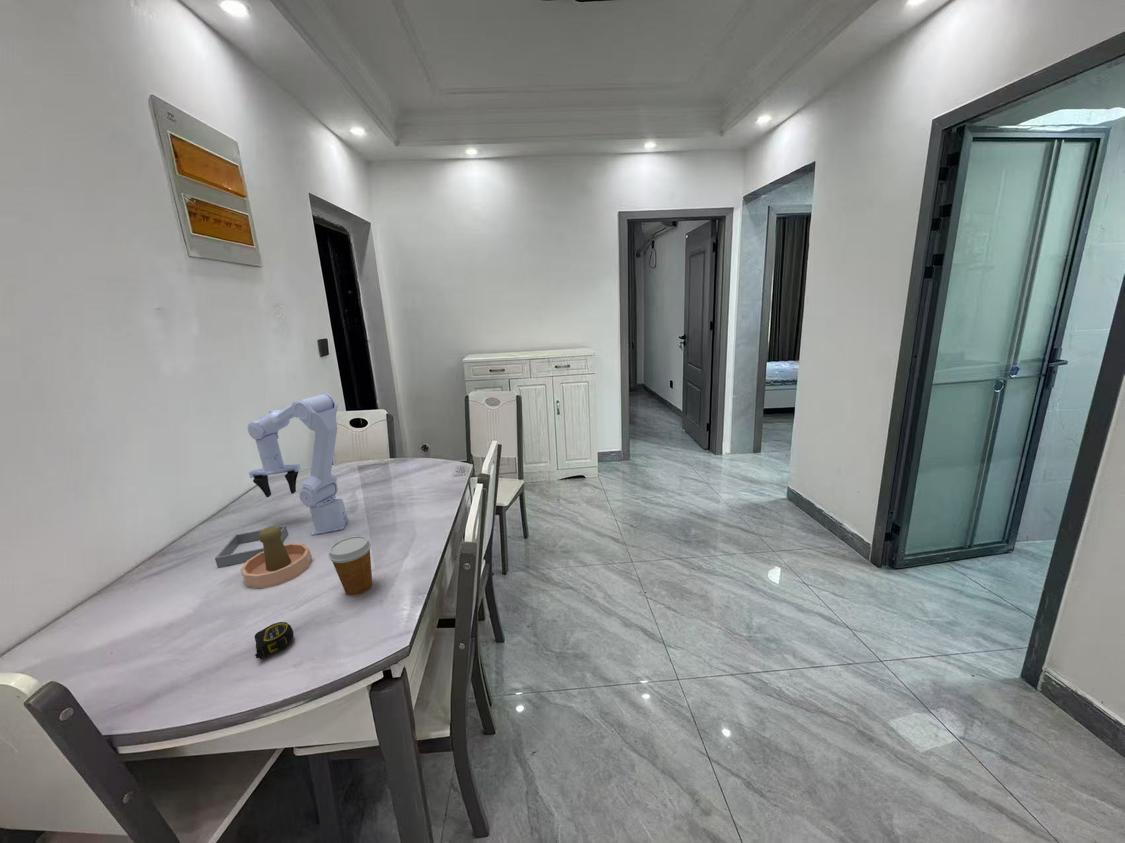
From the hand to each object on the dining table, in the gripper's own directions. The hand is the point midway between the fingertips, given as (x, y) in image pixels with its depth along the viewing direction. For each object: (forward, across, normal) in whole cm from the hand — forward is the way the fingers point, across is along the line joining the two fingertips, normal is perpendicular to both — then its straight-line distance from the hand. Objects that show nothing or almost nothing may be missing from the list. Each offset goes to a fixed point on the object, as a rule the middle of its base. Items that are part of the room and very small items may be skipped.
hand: (281, 494), depth 150 cm
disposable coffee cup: (+11, +34, -47) cm, 59 cm away
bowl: (+10, +9, -31) cm, 34 cm away
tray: (+10, -3, -16) cm, 20 cm away
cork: (+10, +9, -30) cm, 33 cm away
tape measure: (+11, +21, -64) cm, 68 cm away
